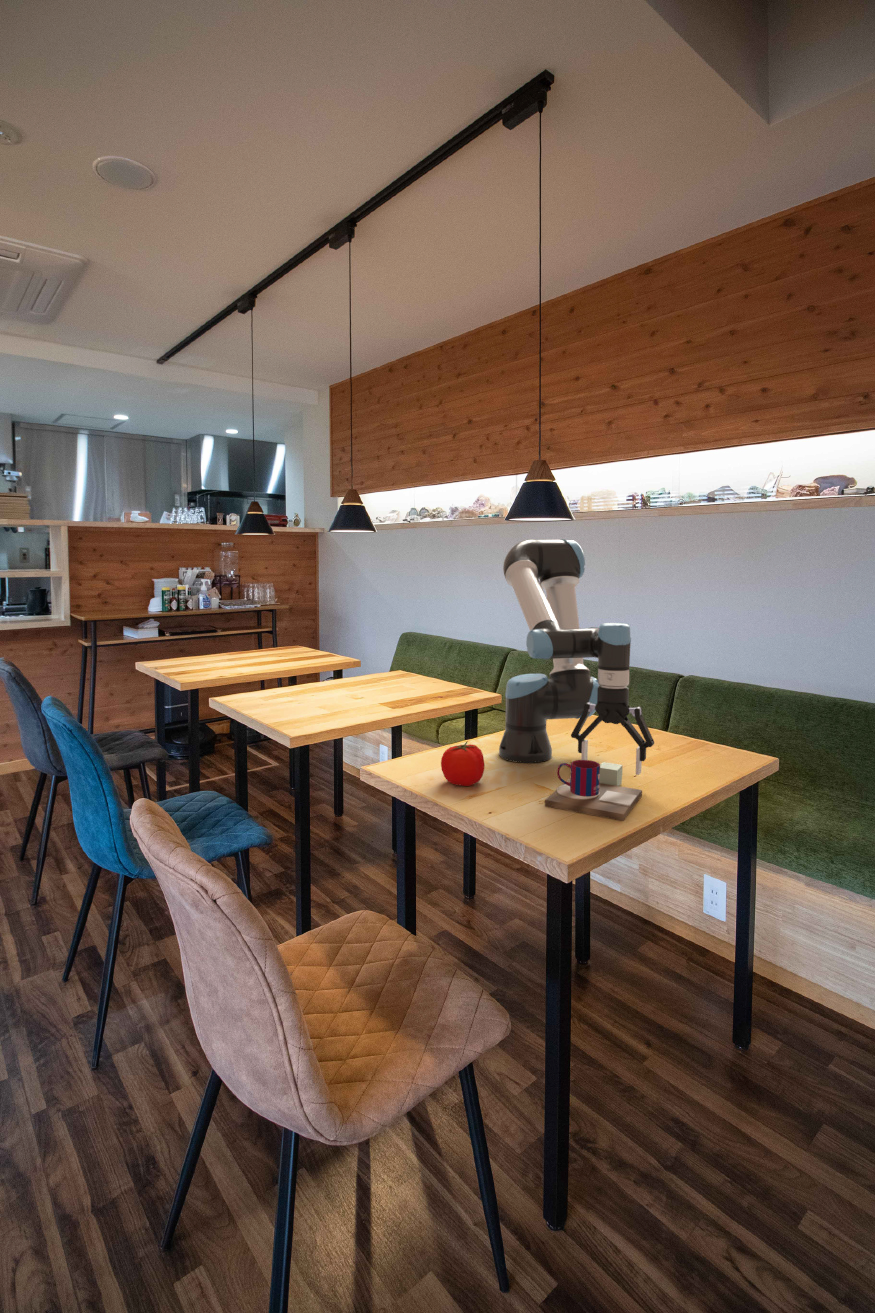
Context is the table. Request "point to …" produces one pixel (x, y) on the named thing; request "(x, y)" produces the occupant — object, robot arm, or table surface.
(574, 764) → the mug
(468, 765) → the tomato
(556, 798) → the board
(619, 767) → the pale sage green cube
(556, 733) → the table surface
